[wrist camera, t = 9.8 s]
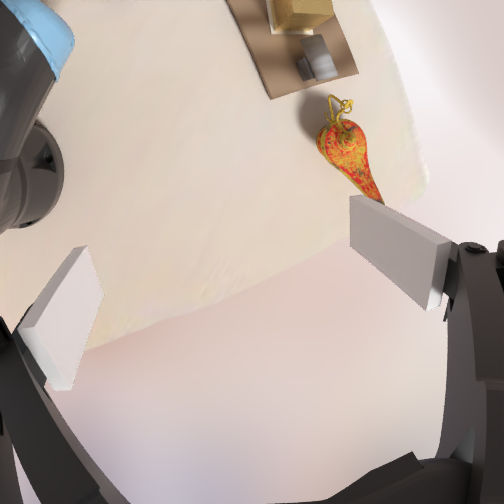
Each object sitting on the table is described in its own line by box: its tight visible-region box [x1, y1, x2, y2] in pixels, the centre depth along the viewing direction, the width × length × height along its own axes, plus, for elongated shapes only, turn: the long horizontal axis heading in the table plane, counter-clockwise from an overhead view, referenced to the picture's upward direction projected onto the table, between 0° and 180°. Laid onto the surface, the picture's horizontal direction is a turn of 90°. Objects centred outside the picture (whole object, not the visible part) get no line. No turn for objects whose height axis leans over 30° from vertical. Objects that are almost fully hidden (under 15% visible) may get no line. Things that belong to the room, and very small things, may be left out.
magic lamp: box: [317, 95, 385, 205], centre depth 38 cm, size 7×18×11 cm, turn 31°
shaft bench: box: [226, 0, 359, 100], centre depth 31 cm, size 22×14×6 cm, turn 21°
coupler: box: [270, 0, 334, 31], centre depth 29 cm, size 5×5×8 cm
